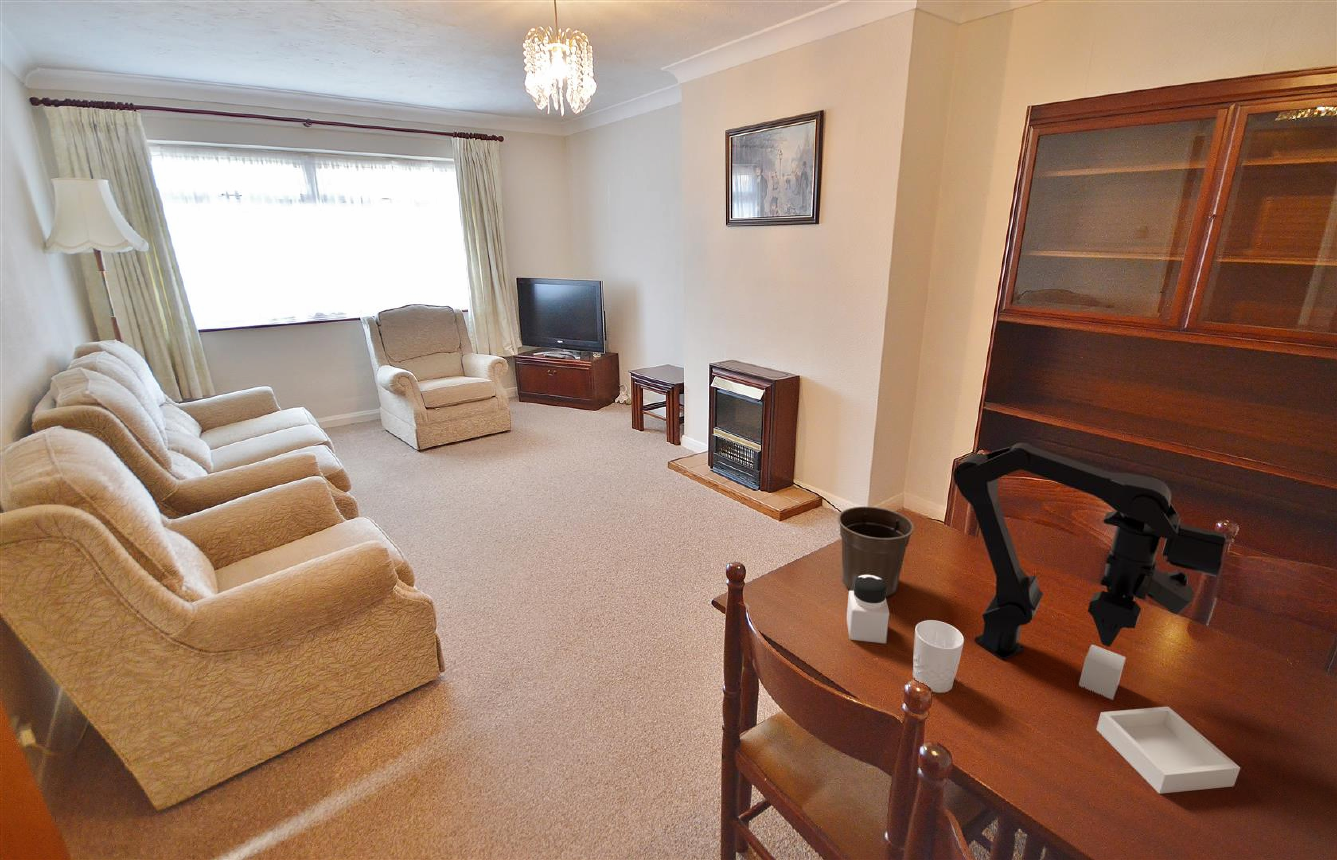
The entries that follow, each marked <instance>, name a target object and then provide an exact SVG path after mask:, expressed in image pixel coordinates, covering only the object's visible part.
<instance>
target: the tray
mask: <svg viewBox="0 0 1337 860" xmlns="http://www.w3.org/2000/svg"><path fill="white" fill-rule="evenodd" d="M1099 714H1100V715H1099V718H1098V721H1097V726H1096V731H1097V732H1098V733H1099V734H1100V735H1101V736H1102V737H1103V738H1104V739H1105V740H1106V741H1107V742H1108V743H1109V744H1110V745H1111V746H1112V747H1113V749H1115V750H1116V751H1117V752H1118V753H1119V754H1120V755H1121V756H1122V757H1123V758H1124V759H1125V761H1127V762H1128V764H1130V766H1132V768H1133V769H1135V771H1136V772H1137V773H1138V774H1140V776H1141V777H1142V778H1143V779H1144V780H1146V782H1147V783H1148V784H1149V785H1150V786H1151V787H1152V788H1153V789H1154V790H1155V791H1156V792H1157V793H1158V794H1170V793H1180V792H1188V791H1199V790H1209V789H1220V788H1229V787H1230V788H1231V787H1234V786H1235V784H1236V781H1237V779H1238V776H1239V774H1240V773H1239V772H1240V770H1241V767H1240V766H1239V765H1238V764H1237V763H1235V761H1234V760H1232V759H1231V758H1230V757H1228V756H1227V755H1226V754H1225V753H1224V752H1223V751H1221V750H1220V749H1219V748H1218V747H1216V745H1214V744H1213V743H1212V742H1211V741H1210V740H1208V738H1206V737H1204V736H1203V735H1202V734H1201V733H1200V732H1199V731H1198V730H1197V729H1195V728H1194V727H1193V726H1192V725H1191V724H1189V722H1187V721H1186V720H1185V719H1183V717H1181V716H1180V715H1179V714H1178V713H1177V712H1175V711H1174V710H1173V709H1172V708H1171V707H1169V706H1158V707H1146V708H1135V709H1134V708H1133V709H1125V710H1114V711H1113V710H1112V711H1103V712H1102V711H1101V712H1100V713H1099Z"/></svg>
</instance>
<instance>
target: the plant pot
mask: <svg viewBox="0 0 1337 860" xmlns="http://www.w3.org/2000/svg"><path fill="white" fill-rule="evenodd" d="M837 521H838V524H839V528H840V529H839V532H840V533H839V535H840V538H841V579H842V581H843V583H844V587H846V588H847V589H848V590H849V591H854V585H855V579H856V578H857V577H859V576H861V575H873V576H877V577H879V578H881V579H882V580H883V581H884V582H885V583H886V585H887V588H886V597H889V596H891V595H893V594H895V592H896V591H897V589H898V584H899V580H900V575H901V571H902V567H903V563H904V558H905V555H906V550H907V547H908V546H909V543H910V539H911V535H912V534H913V533H914V531H915V525H914V523H913V522H912V520H911V519H909V518H908V517H907V516H905V515H903V514H901V513H900V512H897V511H895V510H892V509H888V508H882V507H877V506H876V507H875V506H855V507H850V508H846V509H845V510H843V511H841V512H840V513H839V514H838V517H837Z"/></svg>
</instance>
